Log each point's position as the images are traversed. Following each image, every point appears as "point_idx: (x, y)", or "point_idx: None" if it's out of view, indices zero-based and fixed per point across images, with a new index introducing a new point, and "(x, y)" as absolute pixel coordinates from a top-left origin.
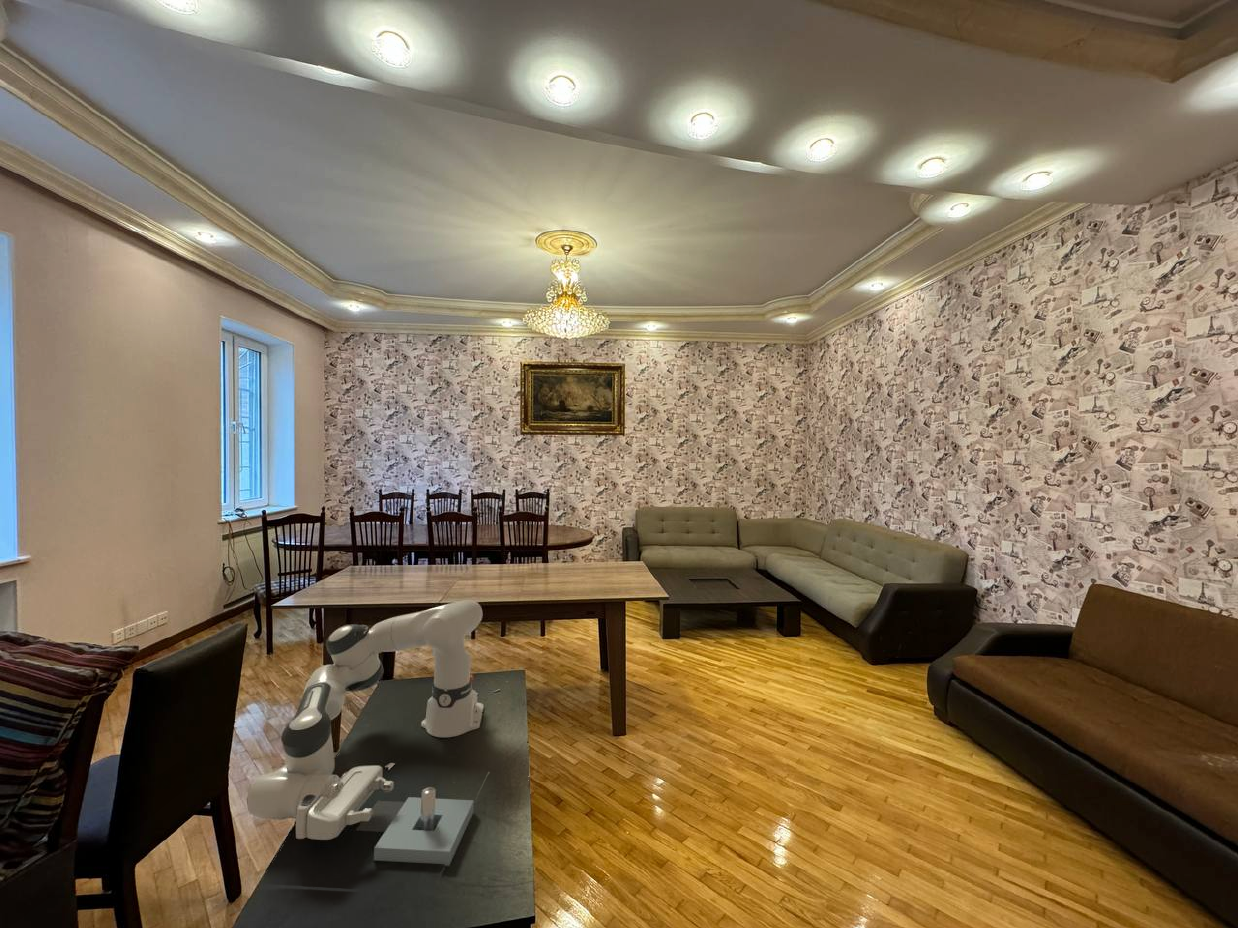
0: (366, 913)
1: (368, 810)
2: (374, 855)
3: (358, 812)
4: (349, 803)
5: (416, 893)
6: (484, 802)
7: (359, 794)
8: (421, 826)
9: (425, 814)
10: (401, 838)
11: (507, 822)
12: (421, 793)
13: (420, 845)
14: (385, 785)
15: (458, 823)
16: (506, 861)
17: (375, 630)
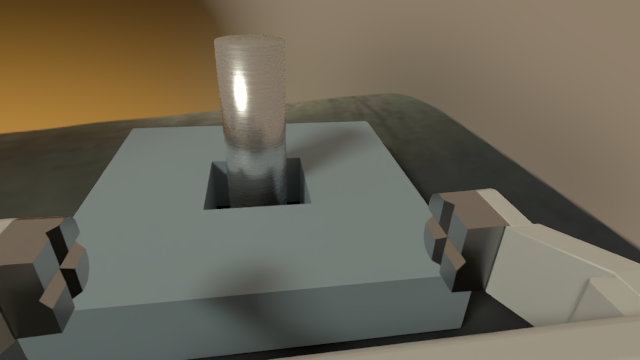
0: (611, 241)
1: (472, 199)
2: (466, 302)
3: (557, 241)
4: (634, 344)
5: (469, 182)
6: (86, 164)
7: (355, 352)
8: (283, 188)
9: (285, 129)
10: (371, 212)
11: (192, 124)
12: (265, 51)
13: (375, 164)
14: (47, 252)
15: None
16: (312, 111)
17: None
